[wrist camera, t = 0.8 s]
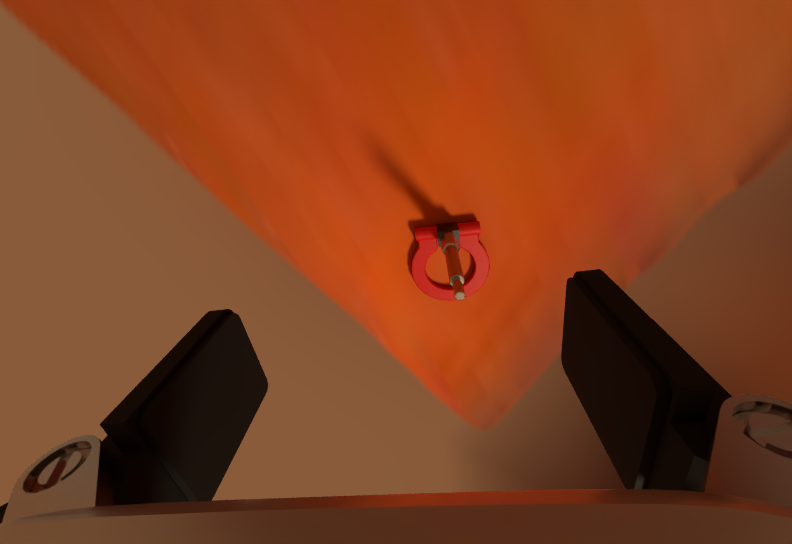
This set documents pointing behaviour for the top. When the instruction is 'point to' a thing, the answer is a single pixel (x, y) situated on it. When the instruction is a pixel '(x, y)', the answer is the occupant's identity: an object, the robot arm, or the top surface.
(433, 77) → the top surface
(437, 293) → the tow hook
